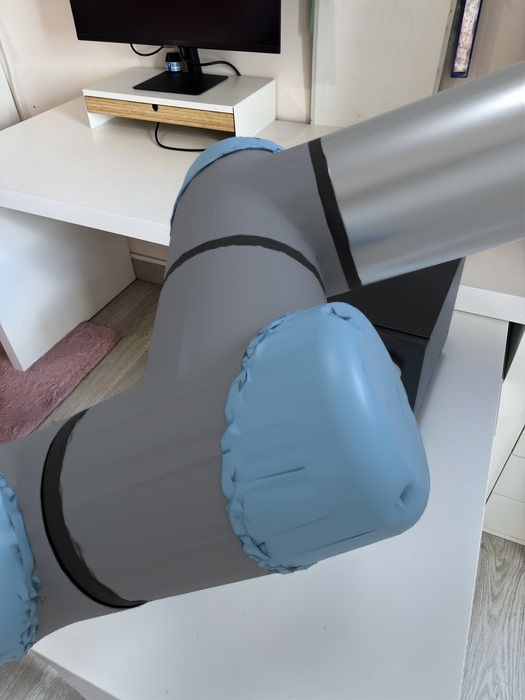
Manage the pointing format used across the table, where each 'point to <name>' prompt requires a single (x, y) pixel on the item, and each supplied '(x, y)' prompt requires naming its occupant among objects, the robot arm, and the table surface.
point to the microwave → (411, 320)
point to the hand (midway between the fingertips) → (290, 429)
